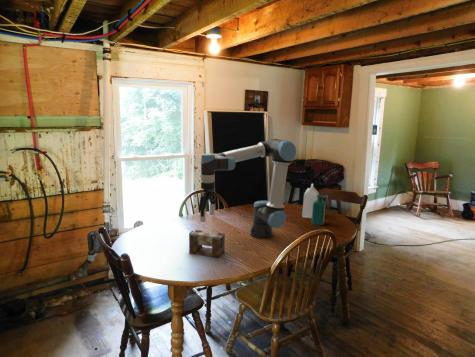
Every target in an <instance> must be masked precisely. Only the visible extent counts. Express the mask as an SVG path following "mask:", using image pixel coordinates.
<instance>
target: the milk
mask: <svg viewBox="0 0 475 357" xmlns="http://www.w3.org/2000/svg"><path fill="white" fill-rule="evenodd" d="M316 195H320V194H319V191H318V190H317V189H316V188H315V186H314V183H311V184H310V187H307V189H306V190H305V192H304V194H303V204H302V211H301V212H302V213H301V217H302V218H307V219H312V210H313V203H314V201H316V200H317V196H316Z"/></svg>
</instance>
